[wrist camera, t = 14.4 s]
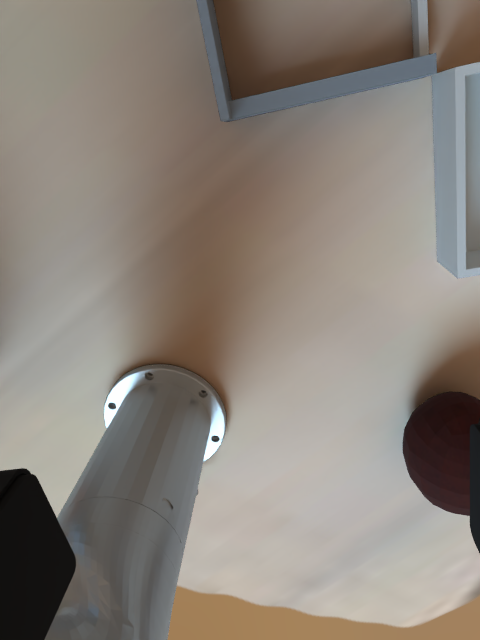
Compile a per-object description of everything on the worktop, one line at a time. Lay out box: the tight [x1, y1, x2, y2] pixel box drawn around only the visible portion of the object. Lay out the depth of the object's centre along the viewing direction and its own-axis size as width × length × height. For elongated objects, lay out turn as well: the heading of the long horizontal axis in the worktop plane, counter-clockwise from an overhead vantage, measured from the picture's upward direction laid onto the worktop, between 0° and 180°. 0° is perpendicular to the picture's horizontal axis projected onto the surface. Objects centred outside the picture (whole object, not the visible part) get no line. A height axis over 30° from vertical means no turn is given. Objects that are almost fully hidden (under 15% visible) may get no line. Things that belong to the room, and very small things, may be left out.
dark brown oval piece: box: [403, 392, 480, 516], centre depth 40 cm, size 9×12×9 cm
